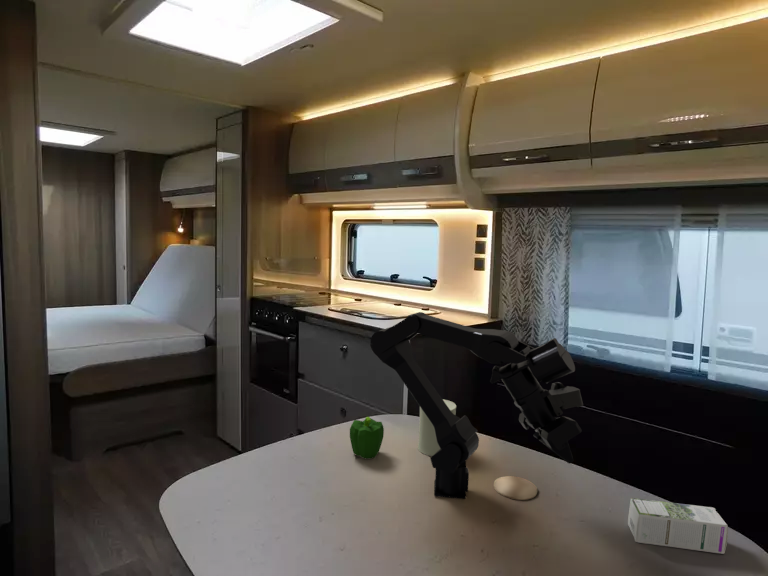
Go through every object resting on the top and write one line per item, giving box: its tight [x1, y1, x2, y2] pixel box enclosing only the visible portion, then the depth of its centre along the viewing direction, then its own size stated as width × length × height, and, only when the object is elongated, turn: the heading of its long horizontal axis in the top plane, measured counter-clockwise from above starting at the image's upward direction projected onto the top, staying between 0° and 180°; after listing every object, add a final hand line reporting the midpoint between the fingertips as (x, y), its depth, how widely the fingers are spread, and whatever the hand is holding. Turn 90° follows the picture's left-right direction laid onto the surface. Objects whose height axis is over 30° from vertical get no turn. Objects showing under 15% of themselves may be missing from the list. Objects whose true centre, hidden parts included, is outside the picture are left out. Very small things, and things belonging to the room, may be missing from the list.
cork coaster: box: [493, 475, 538, 501], centre depth 108 cm, size 9×9×1 cm
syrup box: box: [627, 497, 729, 555], centre depth 91 cm, size 6×6×14 cm
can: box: [417, 398, 457, 457], centre depth 126 cm, size 9×9×12 cm
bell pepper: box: [349, 416, 385, 460], centre depth 122 cm, size 8×8×10 cm
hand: (570, 461), depth 96 cm, fingers closed
